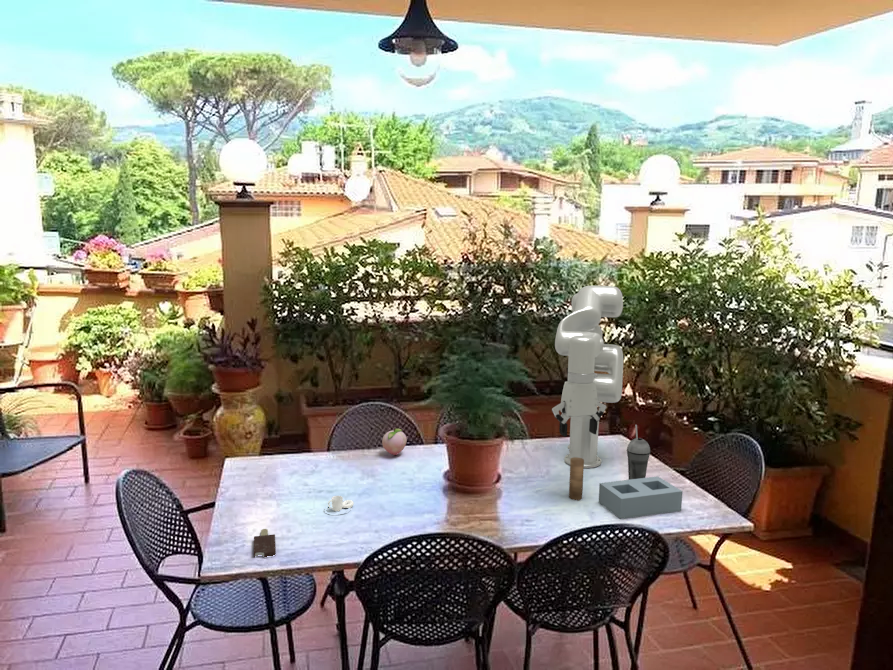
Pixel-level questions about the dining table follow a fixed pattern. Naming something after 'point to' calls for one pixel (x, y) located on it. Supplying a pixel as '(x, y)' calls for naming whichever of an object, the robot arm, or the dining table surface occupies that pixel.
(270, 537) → the ice cream bar
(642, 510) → the bore block
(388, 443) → the decorative fruit
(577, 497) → the walnut peg
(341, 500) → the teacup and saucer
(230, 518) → the dining table surface
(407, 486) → the dining table surface
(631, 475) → the beverage cup
